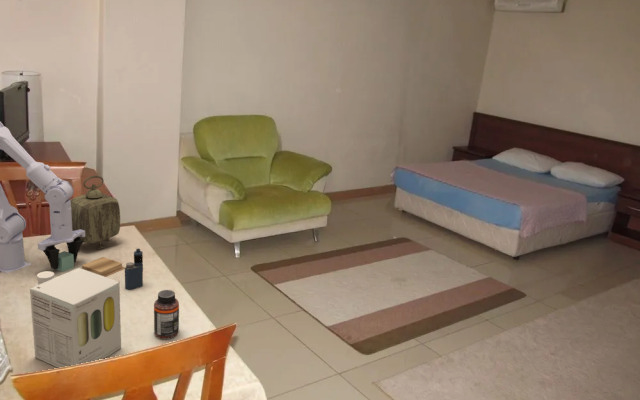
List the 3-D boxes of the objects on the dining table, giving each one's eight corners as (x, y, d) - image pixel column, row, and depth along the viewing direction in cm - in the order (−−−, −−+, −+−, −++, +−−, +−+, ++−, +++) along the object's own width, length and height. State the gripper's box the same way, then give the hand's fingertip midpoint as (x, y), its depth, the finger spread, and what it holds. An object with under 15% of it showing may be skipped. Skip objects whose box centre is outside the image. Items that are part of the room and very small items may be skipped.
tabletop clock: (108, 238, 185) (106, 169, 177) (123, 246, 180) (122, 175, 172) (68, 249, 174) (64, 176, 166) (83, 257, 169) (80, 183, 161)
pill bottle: (49, 314, 135) (47, 280, 132) (31, 311, 136) (28, 276, 133) (63, 305, 140) (61, 272, 138) (45, 301, 141) (43, 268, 138)
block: (53, 270, 159) (52, 255, 157) (65, 265, 162) (64, 251, 161) (62, 274, 157) (61, 258, 156) (74, 269, 161) (73, 254, 159)
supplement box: (76, 377, 113) (72, 305, 108) (33, 358, 118) (28, 287, 113) (122, 348, 125) (121, 281, 119) (82, 331, 130) (79, 266, 125)
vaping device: (144, 287, 154) (144, 249, 150) (127, 292, 150) (127, 254, 146) (140, 284, 155) (140, 246, 152) (123, 289, 151) (122, 250, 148)
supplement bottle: (156, 326, 135) (156, 286, 131) (180, 327, 135) (181, 287, 132) (151, 339, 129) (151, 298, 126) (176, 340, 130) (176, 299, 126)
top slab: (82, 269, 159) (81, 265, 159) (103, 261, 166) (103, 256, 166) (101, 276, 156) (100, 272, 155) (122, 267, 163) (122, 263, 162)
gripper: (47, 232, 147) (50, 276, 151) (91, 219, 160) (93, 260, 164) (31, 226, 150) (34, 270, 154) (75, 214, 163) (77, 254, 167)
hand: (63, 264), depth 159 cm, fingers open, 6 cm apart
